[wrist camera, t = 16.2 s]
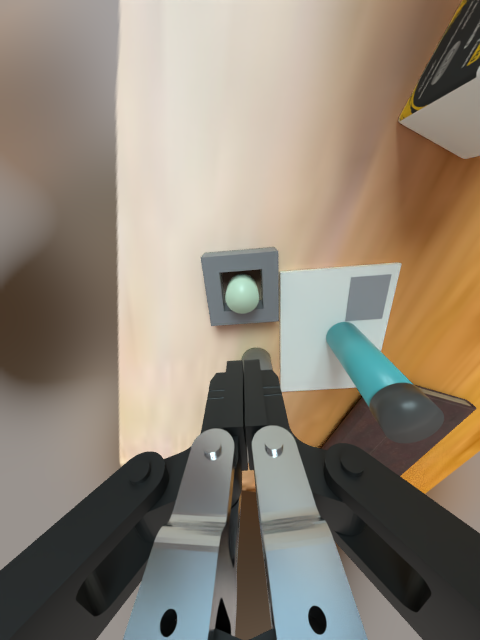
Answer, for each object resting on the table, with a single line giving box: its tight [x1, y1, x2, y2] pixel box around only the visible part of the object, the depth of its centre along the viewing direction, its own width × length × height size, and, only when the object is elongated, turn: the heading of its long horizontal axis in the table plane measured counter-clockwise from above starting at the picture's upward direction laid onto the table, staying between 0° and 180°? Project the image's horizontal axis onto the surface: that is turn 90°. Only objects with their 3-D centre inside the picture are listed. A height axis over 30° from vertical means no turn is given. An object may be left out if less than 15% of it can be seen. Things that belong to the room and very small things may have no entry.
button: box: [225, 274, 259, 314], centre depth 21 cm, size 3×3×3 cm
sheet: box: [280, 262, 401, 392], centre depth 26 cm, size 16×12×1 cm
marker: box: [326, 322, 444, 443], centre depth 20 cm, size 4×4×12 cm
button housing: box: [201, 247, 279, 326], centre depth 23 cm, size 7×7×2 cm
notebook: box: [321, 386, 476, 476], centre depth 33 cm, size 15×20×2 cm
